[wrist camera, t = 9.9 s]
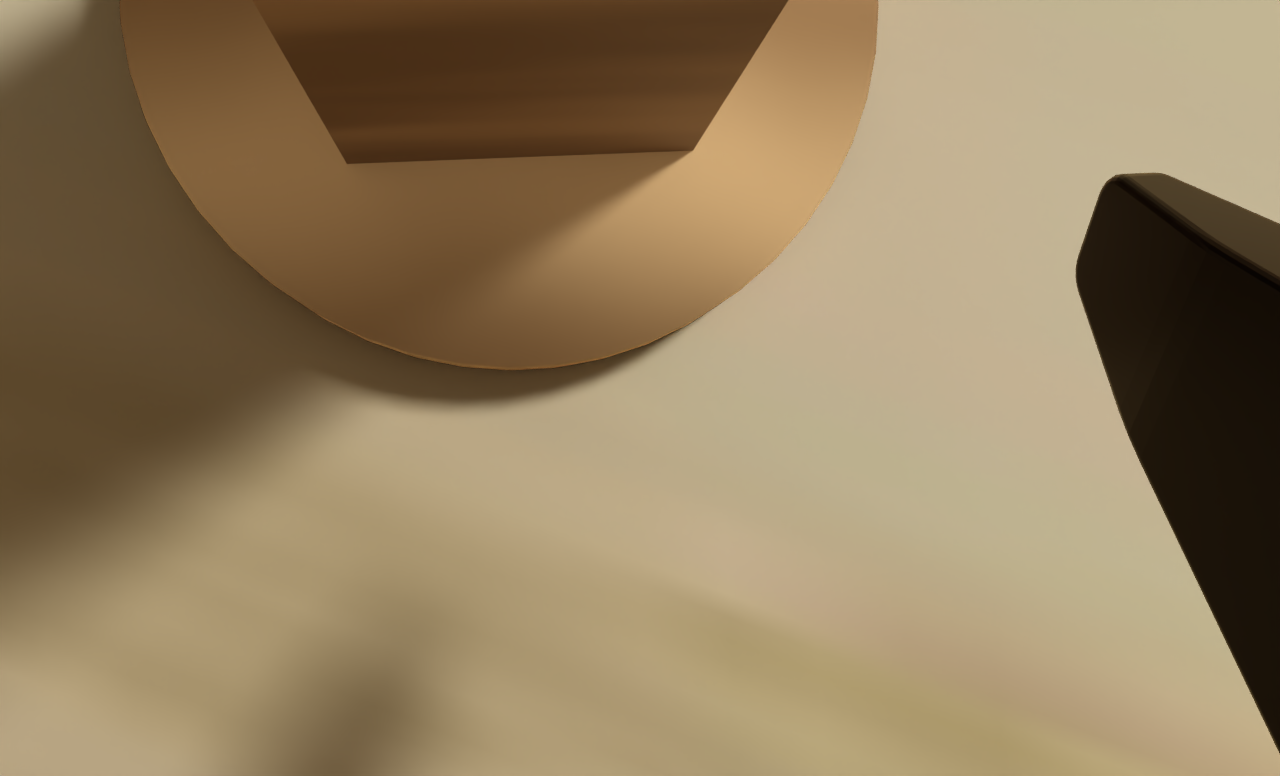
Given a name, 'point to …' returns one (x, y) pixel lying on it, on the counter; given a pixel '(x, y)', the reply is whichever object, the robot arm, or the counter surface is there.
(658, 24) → the walnut block
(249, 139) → the cork trivet
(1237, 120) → the counter surface
